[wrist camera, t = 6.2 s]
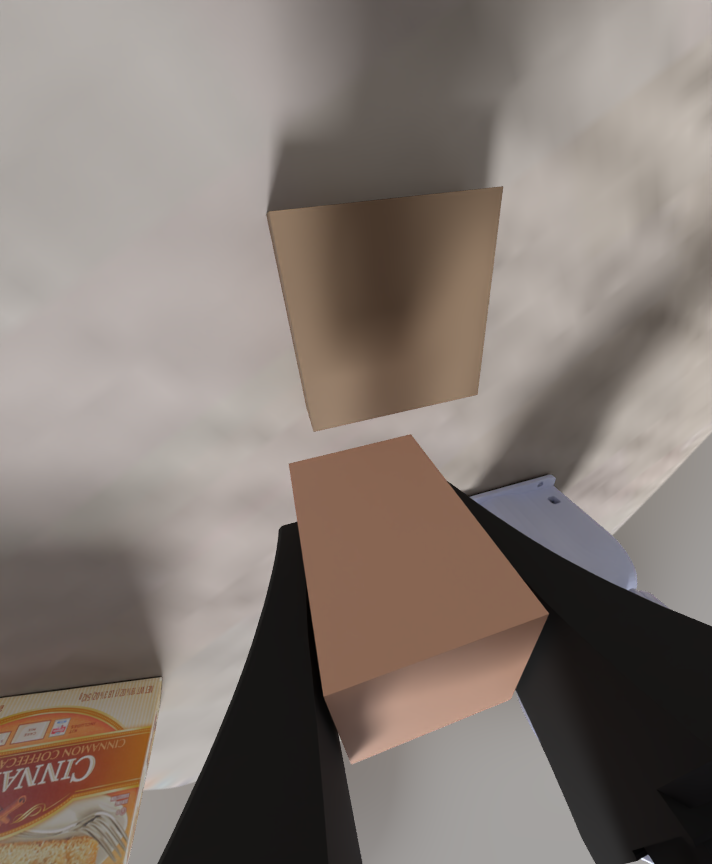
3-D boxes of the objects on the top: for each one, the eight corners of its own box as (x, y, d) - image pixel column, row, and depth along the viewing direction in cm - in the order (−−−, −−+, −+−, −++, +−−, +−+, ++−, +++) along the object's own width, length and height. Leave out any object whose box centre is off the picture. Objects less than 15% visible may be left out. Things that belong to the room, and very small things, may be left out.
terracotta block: (410, 434, 10) (549, 613, 6) (411, 518, 13) (510, 699, 8) (289, 463, 10) (323, 696, 5) (311, 546, 12) (351, 764, 7)
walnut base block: (461, 193, 15) (503, 186, 12) (449, 374, 20) (477, 394, 17) (266, 215, 13) (268, 211, 11) (305, 404, 18) (313, 431, 16)
